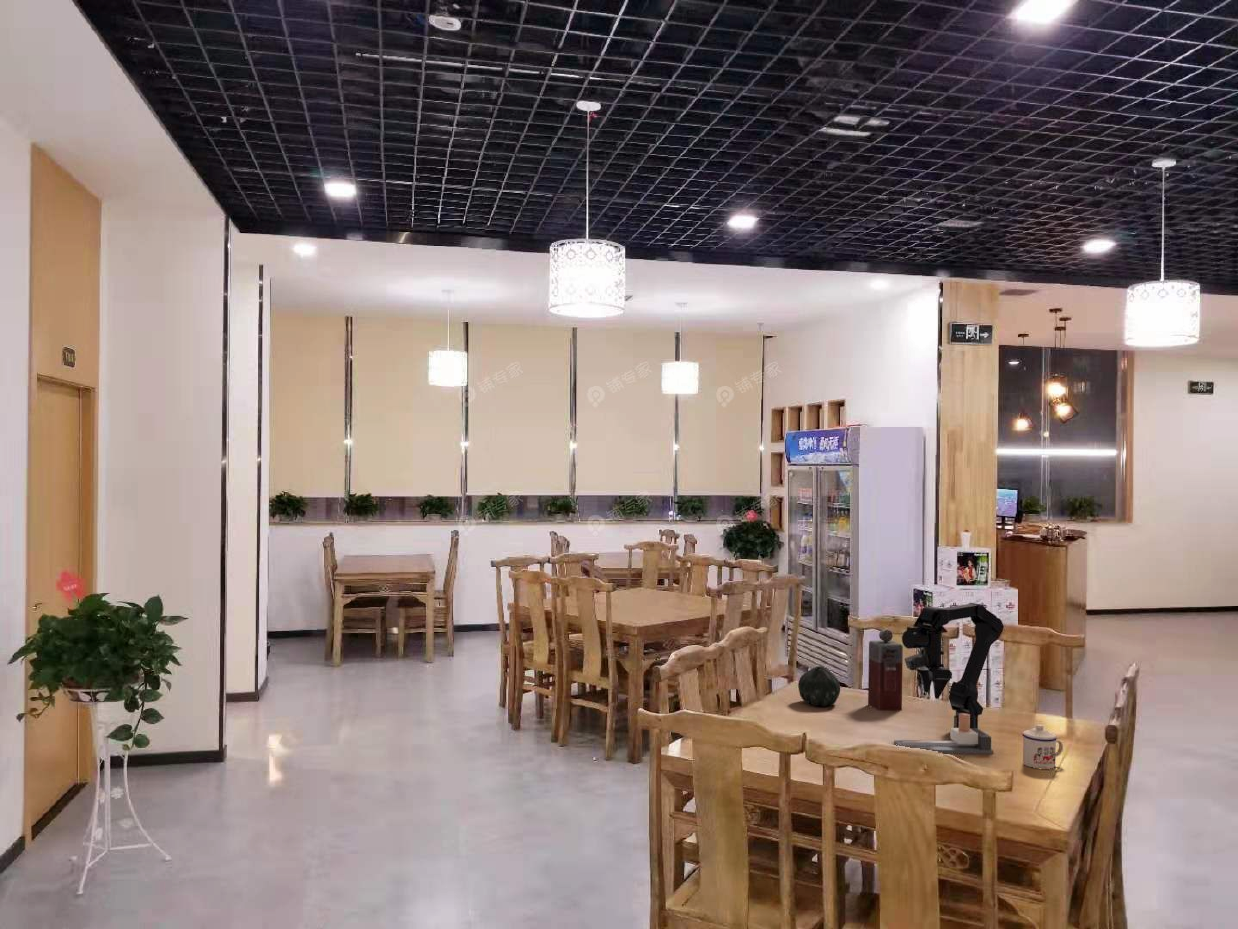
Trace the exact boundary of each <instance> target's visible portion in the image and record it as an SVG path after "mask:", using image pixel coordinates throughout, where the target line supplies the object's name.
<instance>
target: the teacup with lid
mask: <svg viewBox="0 0 1238 929" xmlns="http://www.w3.org/2000/svg"><path fill="white" fill-rule="evenodd" d="M1022 736H1023V737H1022V740H1023V741H1022V744H1023V745H1022V763H1023V764H1024V765H1025V766H1026V767H1029V768H1031V767H1033V768H1032V769H1035V768H1041V769H1040V770H1042V769H1049V770H1051V769H1050V768H1053V769H1055V768H1056V757H1059V756H1060V755H1061V754H1062V752H1063V751H1064V750H1063V749H1064V744H1063V742H1062V741H1061V740H1059V739H1058V738H1057V736H1056V734H1054V733H1052V732H1050V731H1049V730H1048V729H1046V728H1044V725H1042V724H1036V725H1035V727H1032V728H1030V729H1026V730H1024V731H1023V732H1022ZM1056 743H1058V750H1057V749H1056V748H1057V746H1056ZM1056 750H1057V751H1056ZM1054 767H1055V768H1054Z"/></svg>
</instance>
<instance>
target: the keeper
mask: <svg viewBox="0 0 1238 929" xmlns="http://www.w3.org/2000/svg"><path fill="white" fill-rule="evenodd" d="M949 733H950V737H949V738H950V740H951V741H955V742H956V743H958V744H978V733H976V732H975V731H973V730H972V729H970V714H966V713H959V728H953V727H950V732H949Z"/></svg>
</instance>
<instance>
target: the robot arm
mask: <svg viewBox="0 0 1238 929" xmlns="http://www.w3.org/2000/svg"><path fill="white" fill-rule="evenodd" d="M968 618H970V620H971V622H972V623H973V624H974V628H973V631H974V632H973V633H974V637H975V641H974V643H973V647H972V649H971V652H970V654H969V657H968V660H967V663H966V665H965V667H964V671H963V673H962V676H961V678H960V680H959V681H953V682H952V683H951V688H950V689H949V690H948V700H949V703H950V707H951V710H952V711H955V715H953V727H952V728H959V713H966V714H970V728H978V729H979V727H978V726H979V716H981V715H982V714H983V711H984V707H983V706H982V705H981V704H980V702H979V700H978V697H979V691H978V687H977V685H978V682H979V679H980V677H981V674H982V670H983V668H984V665H985V663H986V660H987V657H988V655H989V651H990V649H991V646H992V645H993V644H994V643H996V642H997V640H999V639H1000V637H1001V635H1002V634H1003V631H1004V628H1005V627H1004V623H1003V621H1002V619H1000V618H999V617H998V616H997V615H995V614H994V613H992V612H991V611H990V610H988V609H987V608H986V607H985V606H984V605H983V604H981V603H976V602H970V603H967V604H960V605H955V606H948V607H936V606H924V607H922V609H921V611H920V613H919V615H918V617H917V618H916V620H915V622H914V624H912V625H913V626H907V627H906V630H905V631H904V632H903V634H902V636H901V642H902V646H903V647H904V648H906V649H907V650H909V649H919V653H916V654H914V655H910V656H908V657H905V658H904V660H903V661H904V663H905V666H906V668H907V669H908V670H910V671H916V672H917V673H918V674H919V676H920V679H921V683H922V686H923V690H924V692H925V693H928V692H930V691H929V690H930V689H931V686H932V688H933V694H934V699H936V700H939V699H940V698H941V695H942V694H943V692H944V690H945V688H946V686H947V685H948V683H949V682H950V680H951V679H953V672H952V671H951V670H950V669H948V667H947V668H946V667H944V666H945V665H944V663H942V656H943V655H944V654H945V651H943V648H942V647H943V634H944V633H948V629H946V627H944V626H946V625H948V624H949V623H950V622H952V621H956V620H963V619H968ZM932 684H933V685H932Z"/></svg>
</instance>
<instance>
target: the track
mask: <svg viewBox="0 0 1238 929" xmlns="http://www.w3.org/2000/svg"><path fill="white" fill-rule="evenodd" d="M970 729H972V730H973V731H975V732H976V733H978V744H958V743H956V742H955V741H954V740H913V739H912V740H908V739H907V740H905V739H903V740H901V739H900V740H894V741H893V744H894V745H895V744H897V745H899V746H905V747H910V748H920V749H926V750H932V751H938V752H942V753H941V754H968V755H969V754H971V755H973V754H978V755H979V754H983V755H985V754H988V755H989V754H990V755H991V754H992V755H993V754H994V750H993V749H992V736H990V735H989V734H988V733H986V732H984V731H982V730H981V729H980V728H979V727H978V728H970Z"/></svg>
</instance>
